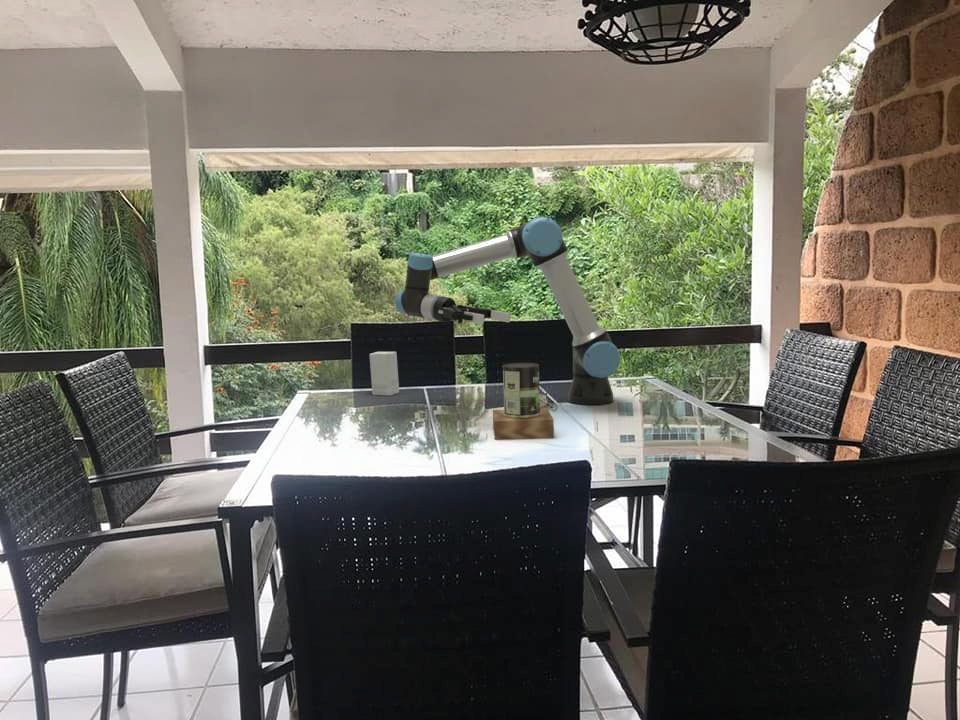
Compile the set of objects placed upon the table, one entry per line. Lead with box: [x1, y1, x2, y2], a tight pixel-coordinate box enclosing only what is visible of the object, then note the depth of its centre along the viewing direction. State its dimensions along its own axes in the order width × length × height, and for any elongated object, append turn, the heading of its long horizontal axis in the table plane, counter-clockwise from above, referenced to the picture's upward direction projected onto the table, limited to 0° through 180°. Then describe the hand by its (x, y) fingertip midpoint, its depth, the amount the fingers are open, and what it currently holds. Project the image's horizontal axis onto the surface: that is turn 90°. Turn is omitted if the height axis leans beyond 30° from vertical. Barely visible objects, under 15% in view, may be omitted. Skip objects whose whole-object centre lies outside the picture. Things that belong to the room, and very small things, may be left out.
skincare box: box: [369, 351, 400, 396], centre depth 287 cm, size 8×7×16 cm
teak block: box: [492, 408, 555, 440], centre depth 219 cm, size 16×16×5 cm
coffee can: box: [501, 362, 540, 418], centre depth 218 cm, size 10×10×14 cm
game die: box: [539, 392, 554, 411], centre depth 237 cm, size 9×8×10 cm
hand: (496, 318), depth 225 cm, fingers open, 13 cm apart
